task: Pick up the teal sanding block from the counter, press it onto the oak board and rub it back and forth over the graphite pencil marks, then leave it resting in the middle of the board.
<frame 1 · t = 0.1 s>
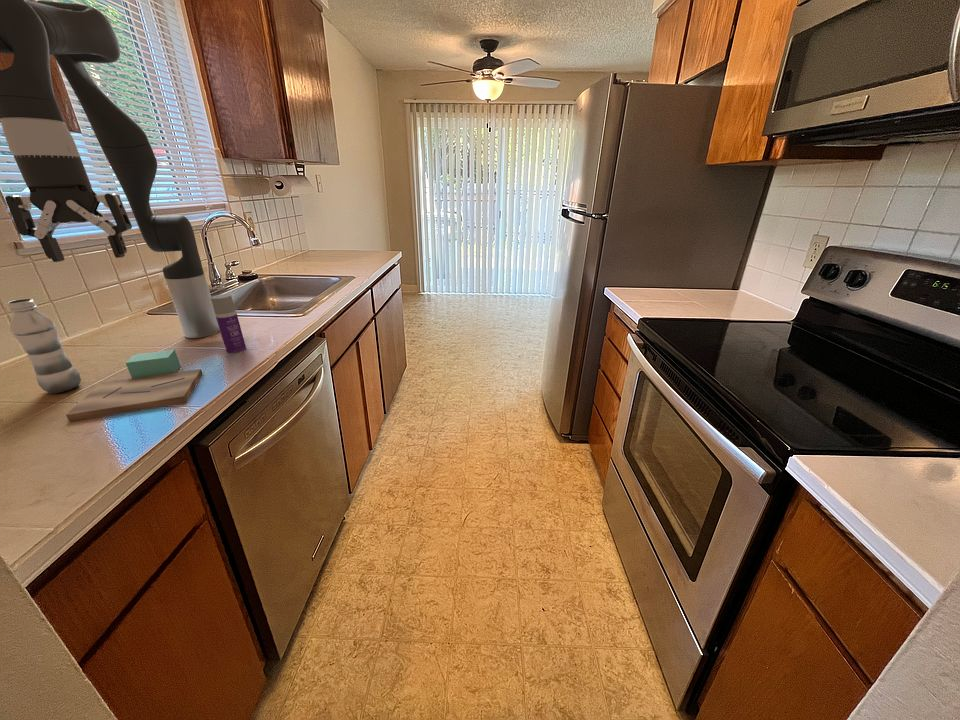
hand: (90, 259, 69), 29 cm above the counter, tool pointing down, fingers open, 8 cm apart
plastic bottle: (65, 390, 88), on the counter
sanding block: (158, 375, 94), on the counter
oak board: (143, 395, 84), on the counter
container: (236, 352, 106), on the counter
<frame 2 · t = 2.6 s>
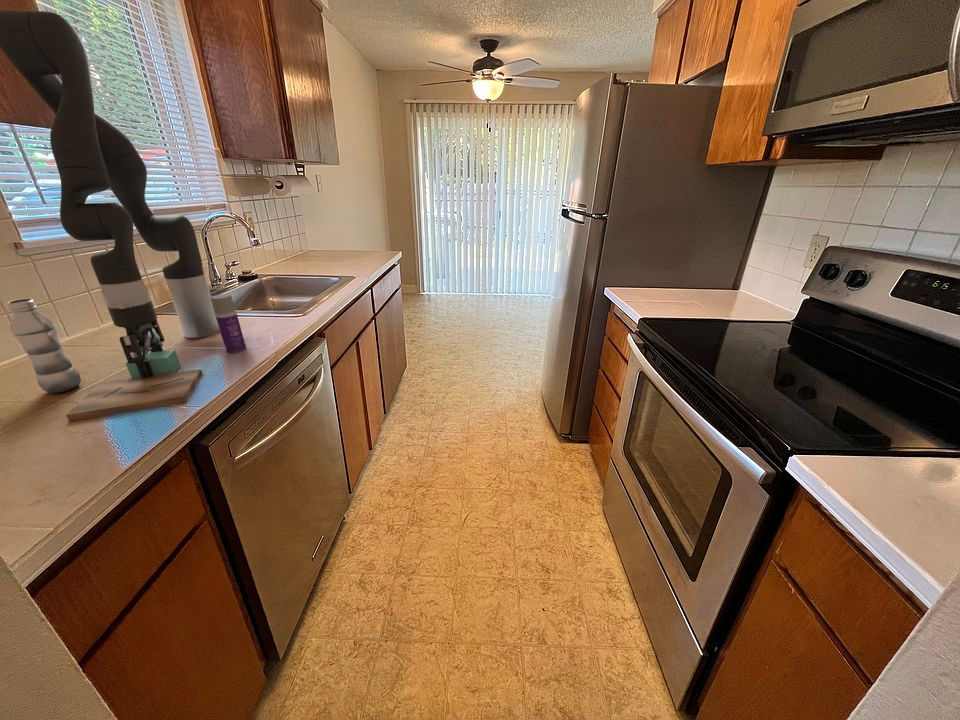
hand: (154, 369, 93), 1 cm above the counter, tool pointing down, fingers open, 8 cm apart
nothing on the counter moved.
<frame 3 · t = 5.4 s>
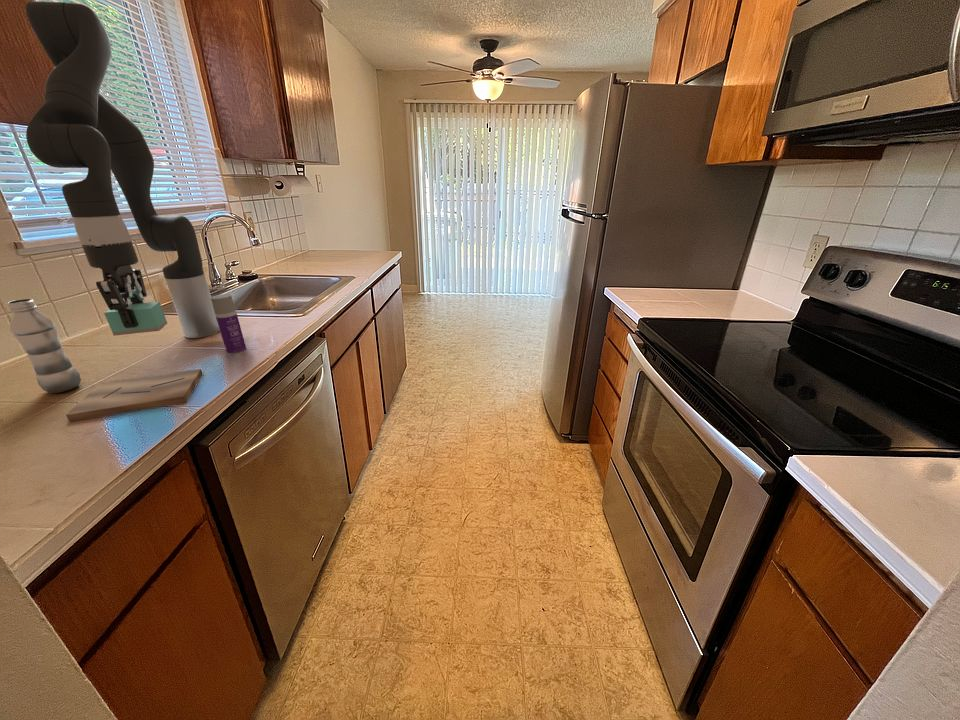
hand: (137, 322, 85), 14 cm above the counter, tool pointing down, fingers closed on sanding block, 5 cm apart
sanding block: (141, 329, 86), point 12 cm above the counter, touching gripper
everything else where it was.
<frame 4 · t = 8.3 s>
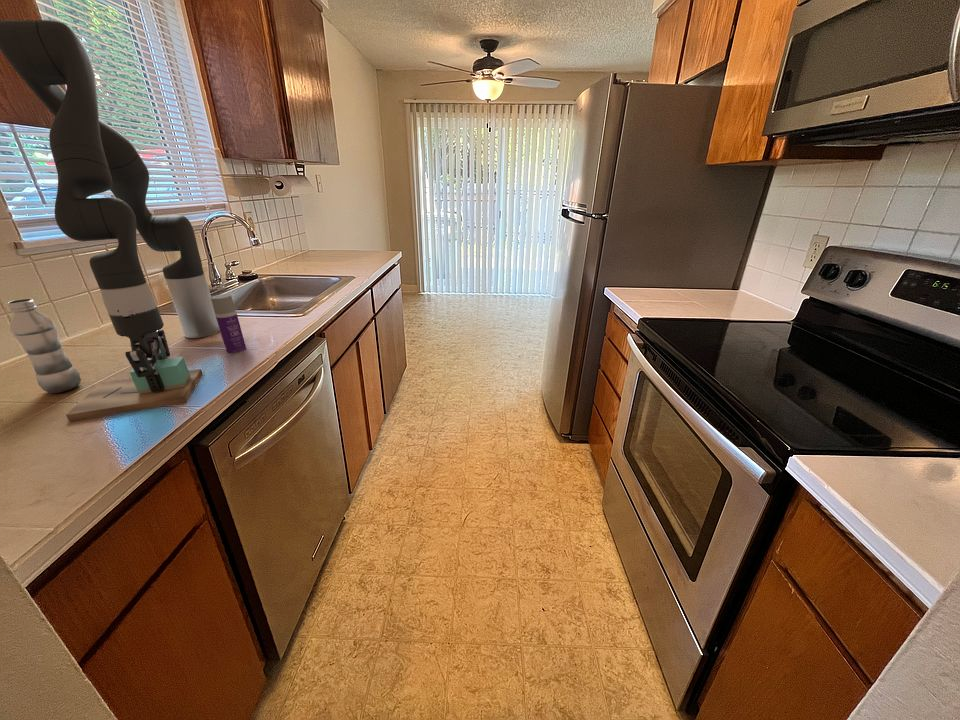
hand: (162, 384, 85), 2 cm above the counter, tool pointing down, fingers closed on sanding block, 5 cm apart
sanding block: (165, 385, 85), point 2 cm above the counter, touching gripper
everything else where it was.
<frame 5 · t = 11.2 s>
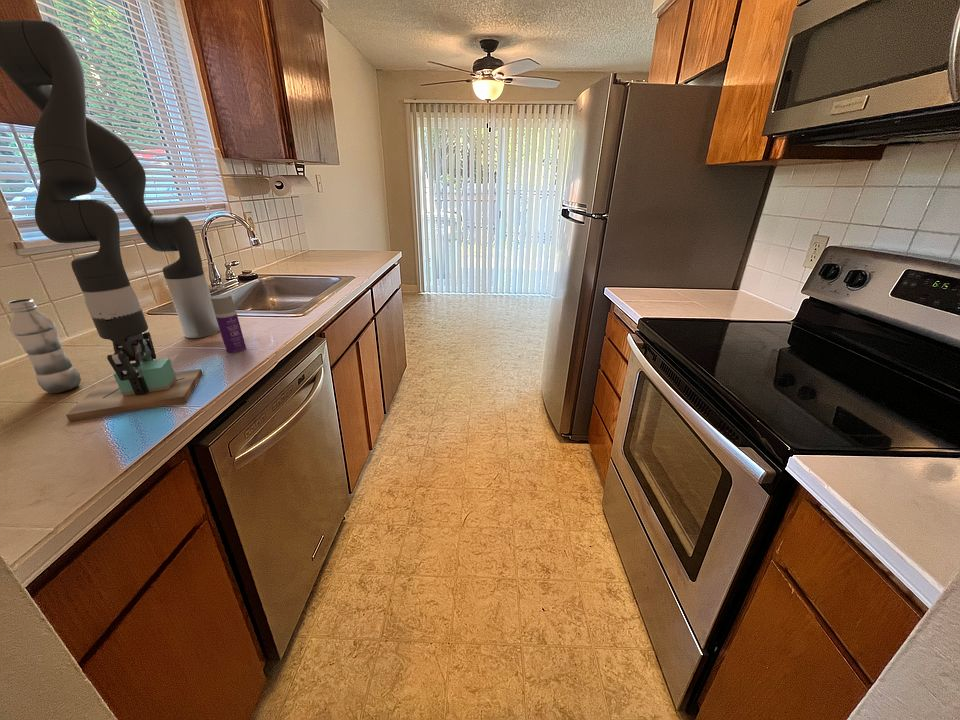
hand: (147, 387, 84), 2 cm above the counter, tool pointing down, fingers closed on sanding block, 5 cm apart
sanding block: (150, 387, 84), point 2 cm above the counter, touching gripper
everything else where it was.
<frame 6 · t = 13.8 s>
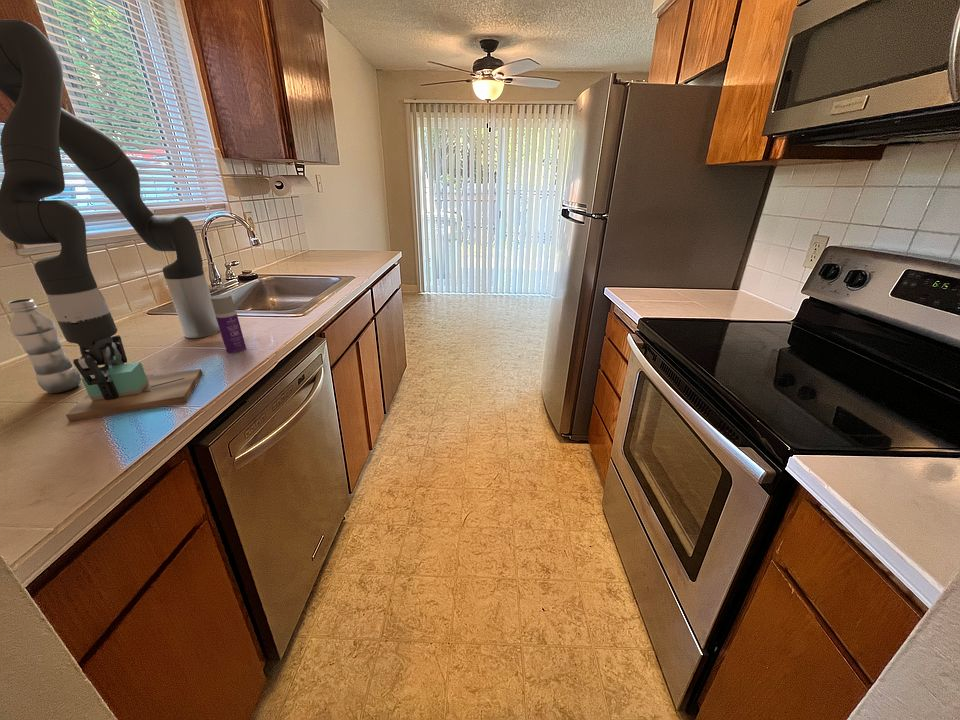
hand: (117, 392, 82), 2 cm above the counter, tool pointing down, fingers closed on sanding block, 5 cm apart
sanding block: (121, 391, 83), point 2 cm above the counter, touching gripper
everything else where it was.
when the fingers open (2 cm above the counter, at t = 15.7 s): sanding block stays where it is, resting on oak board.
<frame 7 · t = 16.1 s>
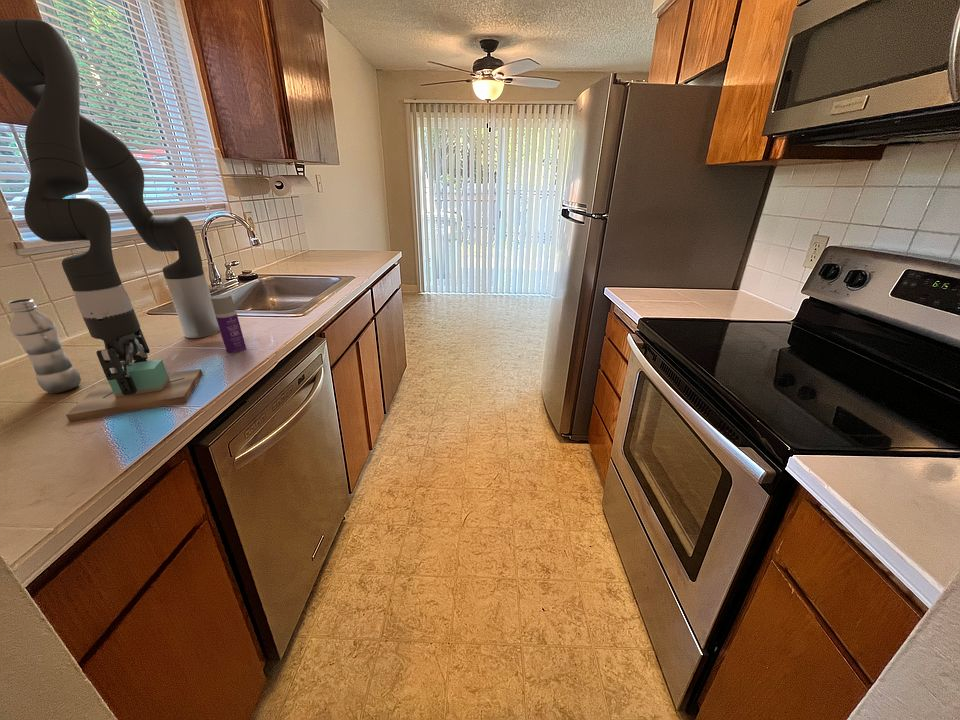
hand: (138, 384, 83), 3 cm above the counter, tool pointing down, fingers open, 8 cm apart
sanding block: (143, 388, 84), point 2 cm above the counter, touching oak board
everything else where it was.
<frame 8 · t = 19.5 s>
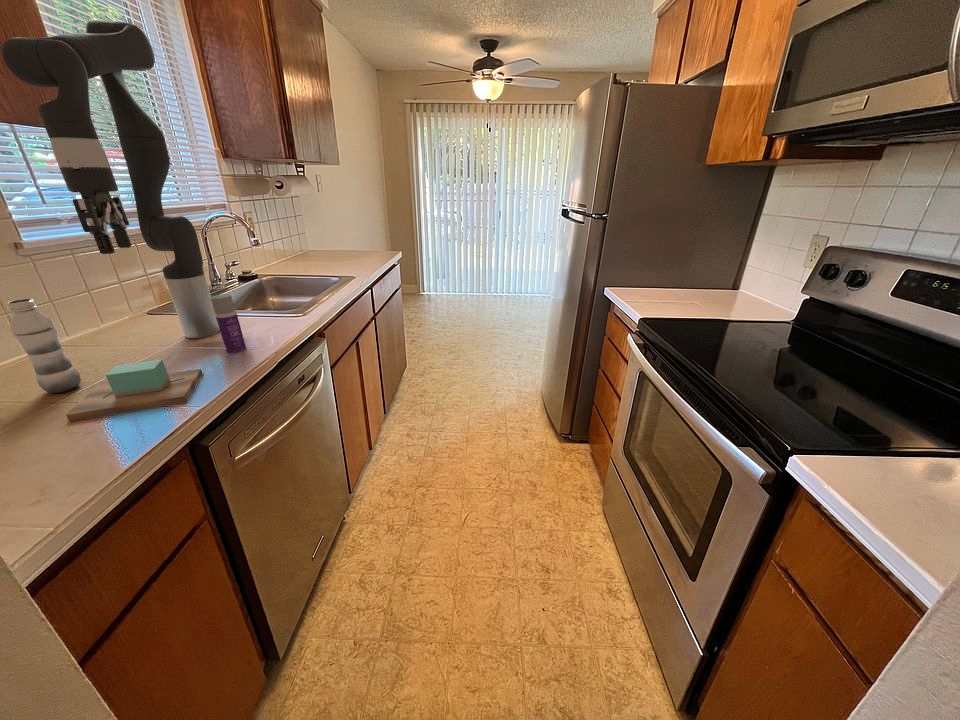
hand: (117, 250, 85), 28 cm above the counter, tool pointing down, fingers open, 8 cm apart
nothing on the counter moved.
at the end: sanding block inside the target area on the oak board (0.6 cm from its centre), point 1.6 cm above the oak board's base; sanding block tilted 0°; the gripper is holding nothing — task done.
